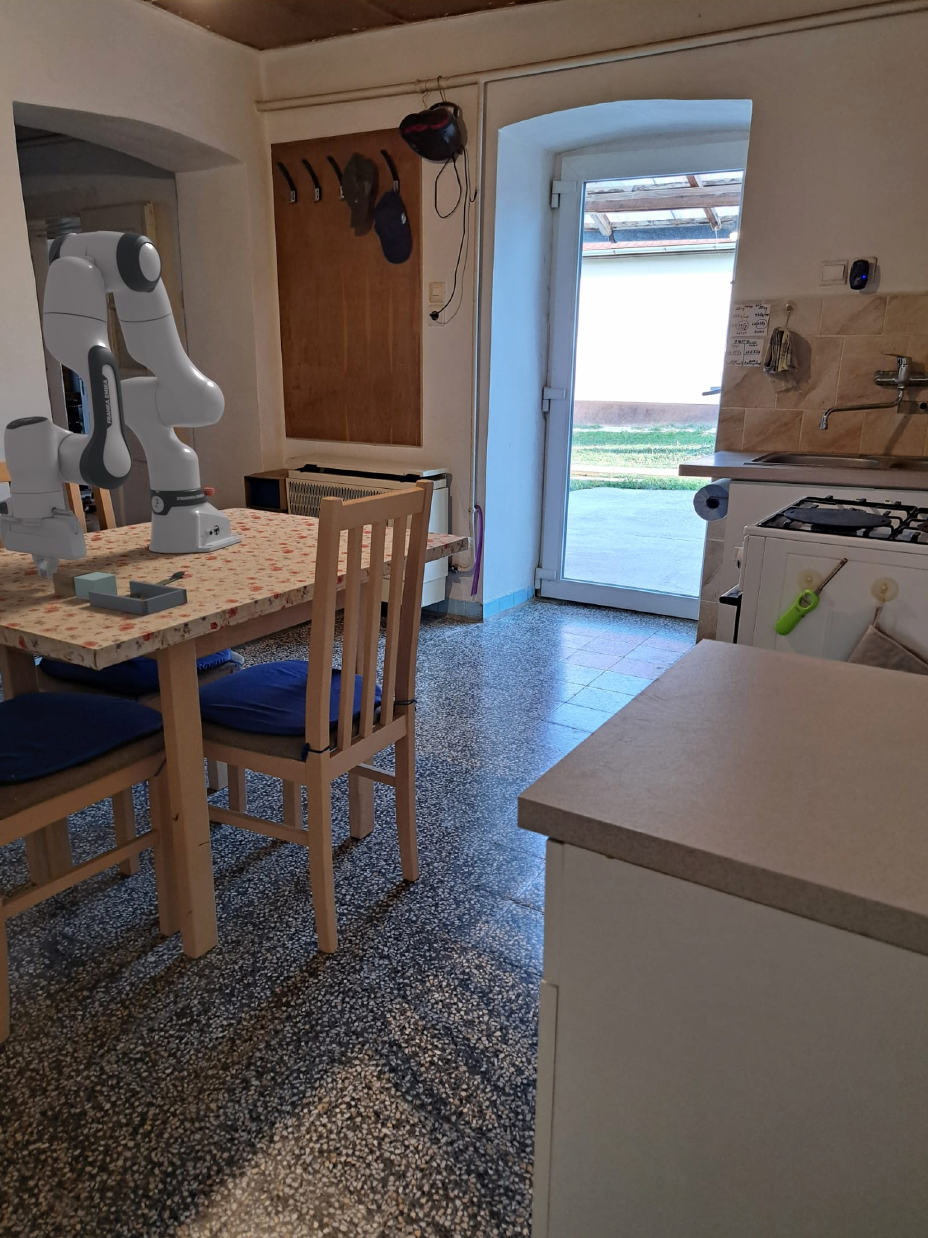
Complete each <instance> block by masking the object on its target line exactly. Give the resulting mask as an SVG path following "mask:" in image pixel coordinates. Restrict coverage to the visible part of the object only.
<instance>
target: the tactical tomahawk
mask: <svg viewBox="0 0 928 1238" xmlns="http://www.w3.org/2000/svg"><path fill="white" fill-rule="evenodd" d="M185 573H186V572H185V571H182V570H181V571H177V572H175V573H173V574H171V577H170V578H167V579H165V578H164V579H162V580H160V581H158V582H156V583H155V584H158V585H164V586H167V585H170V584H172V583H173V582H176V581H178V580H179V579H180V577H183V576H185ZM166 584H167V585H166ZM129 597H130V598H136V599H141V596H140V594H139V593H136V592H135V593H133V594H129Z"/></svg>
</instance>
